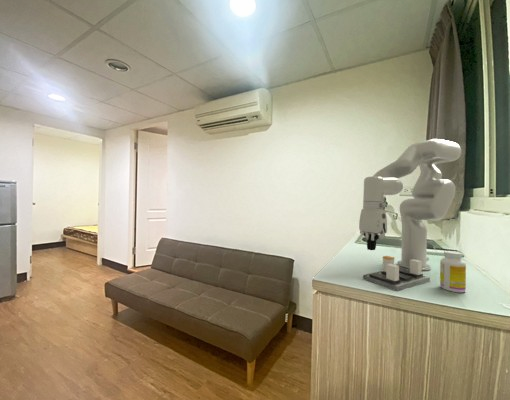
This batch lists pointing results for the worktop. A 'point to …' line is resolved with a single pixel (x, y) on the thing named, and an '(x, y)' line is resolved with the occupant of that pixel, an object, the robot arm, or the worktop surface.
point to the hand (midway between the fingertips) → (371, 249)
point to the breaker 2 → (415, 267)
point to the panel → (404, 280)
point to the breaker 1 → (392, 272)
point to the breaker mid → (387, 261)
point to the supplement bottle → (453, 272)
